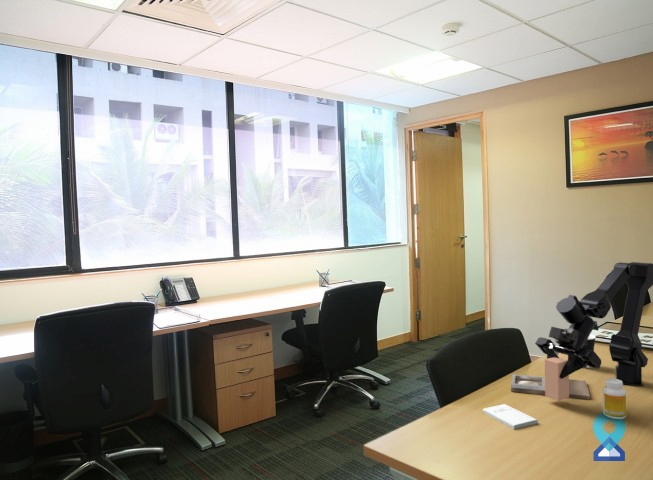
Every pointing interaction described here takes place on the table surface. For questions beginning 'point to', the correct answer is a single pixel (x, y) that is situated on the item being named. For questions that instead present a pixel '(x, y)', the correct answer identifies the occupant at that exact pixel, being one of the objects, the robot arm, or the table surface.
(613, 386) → the supplement bottle
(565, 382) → the terracotta pin
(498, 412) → the external hard drive
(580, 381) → the board
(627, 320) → the robot arm
